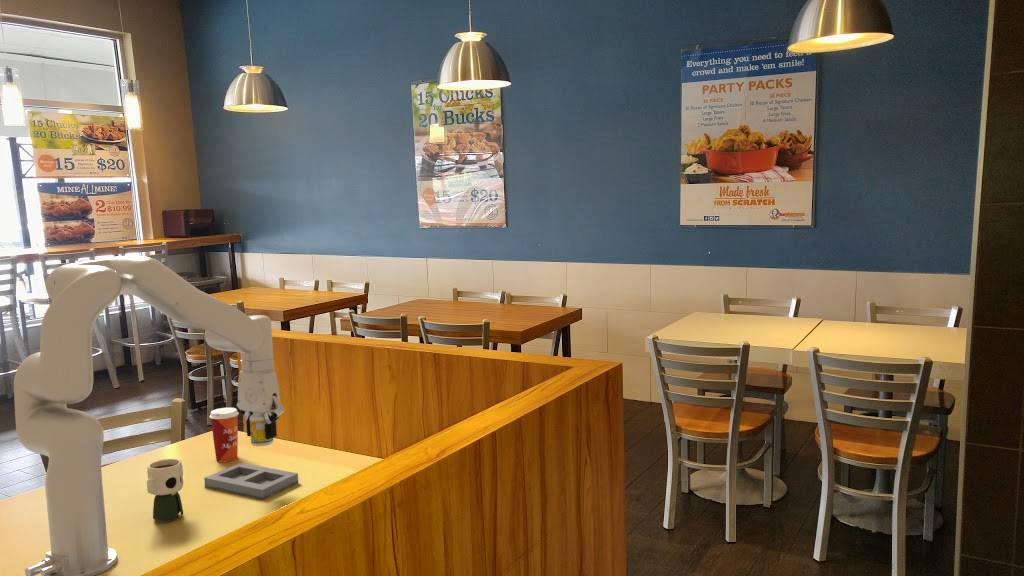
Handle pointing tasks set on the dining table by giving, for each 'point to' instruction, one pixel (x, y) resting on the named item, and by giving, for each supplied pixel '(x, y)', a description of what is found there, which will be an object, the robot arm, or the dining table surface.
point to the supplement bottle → (258, 430)
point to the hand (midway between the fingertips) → (261, 435)
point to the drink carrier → (251, 480)
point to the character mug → (165, 488)
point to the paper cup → (225, 433)
